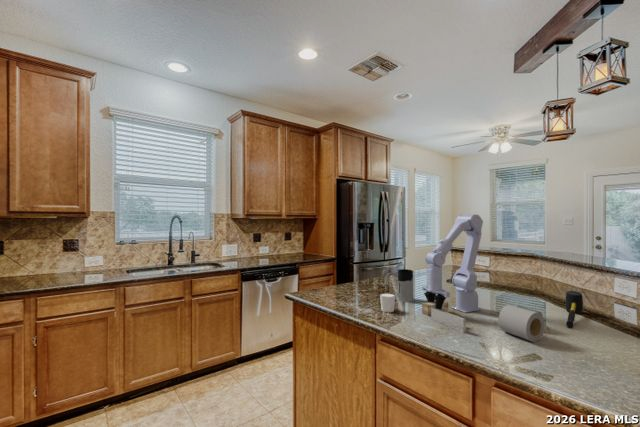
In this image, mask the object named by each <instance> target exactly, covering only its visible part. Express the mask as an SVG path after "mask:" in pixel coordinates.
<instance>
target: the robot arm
mask: <svg viewBox="0 0 640 427" xmlns="http://www.w3.org/2000/svg"><path fill="white" fill-rule="evenodd" d="M483 223H484V221H483V219H482V217H481V216H480V215H479V214H459V215H457V218H456V219H455V220H454V224H453V226H452V228H451V229H450V231H449V232H448V234H447V235H446V237H445V238H441V239H440V240H439V241H438V243H437V245H435V248H433V250H432V251H431V252H429V253H427V255H426V257H425V262H426V263H427V269H428V273H427V274H428V275H427V276H428V279H427V280H428V285H422V286H421V290H422V291H425V292H424V293H423V294H424V296H425V298H426V301H427V303H429V302H436V308H437V309H440V310H441V309H442V305H443V303H444V301H446V300H447V298H450V296H451V294H450V292H449V291H446V290H445V289H443V265H444V264H445V263H446V258H447V255H448V254H449V253H450V251H451V250H452V248H453V243H454V242H455V240H456V239H457V238H458V237H459V236H460V235H461V234H462V233H463V232H465V233H466V235H467V237H466V243H465V247H464V250H463V251H464V252H463V256H462V260H461V264H460V268H458V269H456V271H455V273H454V275H453V277H452V279H451V280H452V281H451V283H452V285H453V286H454V289H455V306H451V309H455V310H457V311H459V312H463V313H470V312H471V313H472V312H476V311H480V310H481V309H480V308H479V295H478V292H477V291H476V289H477V287H478V281H477V280H478V275H477V274H476V273H475V271H474V269H475V265H476V261H477V256H478V252H479V247H480V243H481V239H482V228H483Z"/></svg>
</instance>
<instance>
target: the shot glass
mask: <svg viewBox="0 0 640 427" xmlns="http://www.w3.org/2000/svg"><path fill="white" fill-rule="evenodd" d="M379 298H380V309H381V312H384V313H393V312H394V311H395V302H396V295H395V294H392V293H388V292H387V293H381V294H379Z"/></svg>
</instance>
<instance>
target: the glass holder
mask: <svg viewBox="0 0 640 427" xmlns="http://www.w3.org/2000/svg"><path fill="white" fill-rule="evenodd" d="M390 274H392V275H393V278H394V282H397V292H396V291H395V290H394V289H393V288H392V287H391V286H390V284H389V282H388V276H389V275H390ZM385 280H386V284H387V285H388V288H390V289H391V290H392V292H394V293H395V294H396V300H397V301H399V302H405V303H410V302H414V301H415V299H414V271H413V270H412V269H406V268H405V269H404V268H402V269H398V270H397V280H396V276H395V274H394V273H393V272H389V273H387V274H386V278H385Z"/></svg>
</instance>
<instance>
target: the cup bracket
mask: <svg viewBox="0 0 640 427" xmlns="http://www.w3.org/2000/svg"><path fill="white" fill-rule="evenodd" d="M430 316H431V318H430V319H431V320H432V321H434V322H435V323H439V324H441V325H443V326H446V327H449V328H451V329H453V330H456V331H458V332H461V333H463V334H465V333H466V332H467V319H466V318H465V317H461V316H459V315H456V314H453V313H450V312H449V311H448V312H445V311H442V310H440V309H437V308H434V307H432V308H431V315H430Z"/></svg>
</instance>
